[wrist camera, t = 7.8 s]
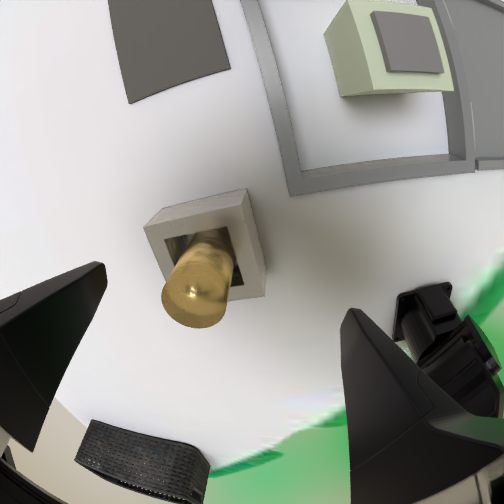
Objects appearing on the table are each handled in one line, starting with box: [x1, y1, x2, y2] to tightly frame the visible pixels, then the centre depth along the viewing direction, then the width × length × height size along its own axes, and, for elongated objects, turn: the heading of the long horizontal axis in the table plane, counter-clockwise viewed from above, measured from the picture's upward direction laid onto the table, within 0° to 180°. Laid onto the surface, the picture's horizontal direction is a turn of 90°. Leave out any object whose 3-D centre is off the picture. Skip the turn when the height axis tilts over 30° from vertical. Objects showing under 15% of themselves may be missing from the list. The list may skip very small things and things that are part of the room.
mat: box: [108, 0, 230, 104], centre depth 14 cm, size 11×8×1 cm
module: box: [324, 0, 454, 97], centre depth 11 cm, size 5×5×8 cm
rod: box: [161, 226, 236, 328], centre depth 18 cm, size 4×4×8 cm
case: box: [240, 0, 504, 197], centre depth 12 cm, size 17×30×2 cm, turn 103°
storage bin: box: [74, 420, 210, 504], centre depth 45 cm, size 29×19×13 cm
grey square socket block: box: [143, 188, 266, 301], centre depth 20 cm, size 7×7×4 cm
